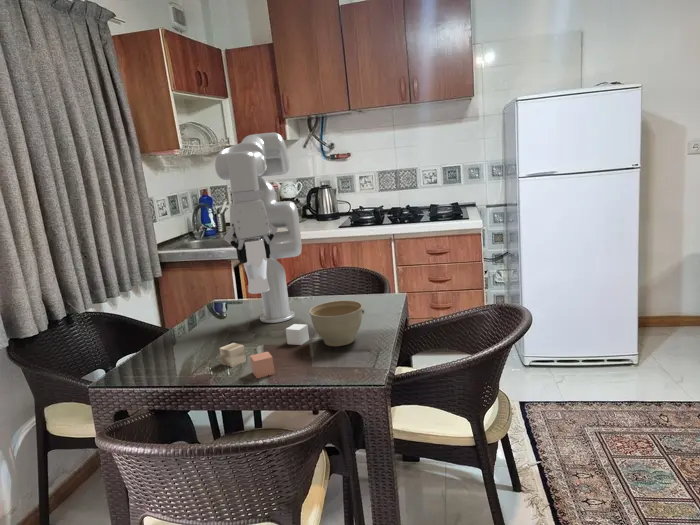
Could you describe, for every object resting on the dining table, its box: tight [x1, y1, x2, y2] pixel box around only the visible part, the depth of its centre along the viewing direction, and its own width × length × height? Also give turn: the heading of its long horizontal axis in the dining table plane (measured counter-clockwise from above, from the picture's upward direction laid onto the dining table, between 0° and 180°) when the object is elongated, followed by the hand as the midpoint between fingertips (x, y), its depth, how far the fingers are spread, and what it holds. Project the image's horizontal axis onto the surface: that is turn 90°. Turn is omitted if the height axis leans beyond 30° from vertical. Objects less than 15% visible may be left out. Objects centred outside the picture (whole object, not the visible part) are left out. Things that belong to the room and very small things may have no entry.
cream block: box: [285, 323, 310, 346], centre depth 166 cm, size 5×5×5 cm
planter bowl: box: [309, 300, 363, 347], centre depth 162 cm, size 16×16×11 cm
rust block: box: [249, 351, 276, 379], centre depth 143 cm, size 5×5×5 cm
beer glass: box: [242, 238, 270, 295], centre depth 150 cm, size 7×7×15 cm
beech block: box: [219, 342, 247, 368], centre depth 153 cm, size 5×5×5 cm
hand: (254, 259), depth 149 cm, fingers closed on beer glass, 6 cm apart
